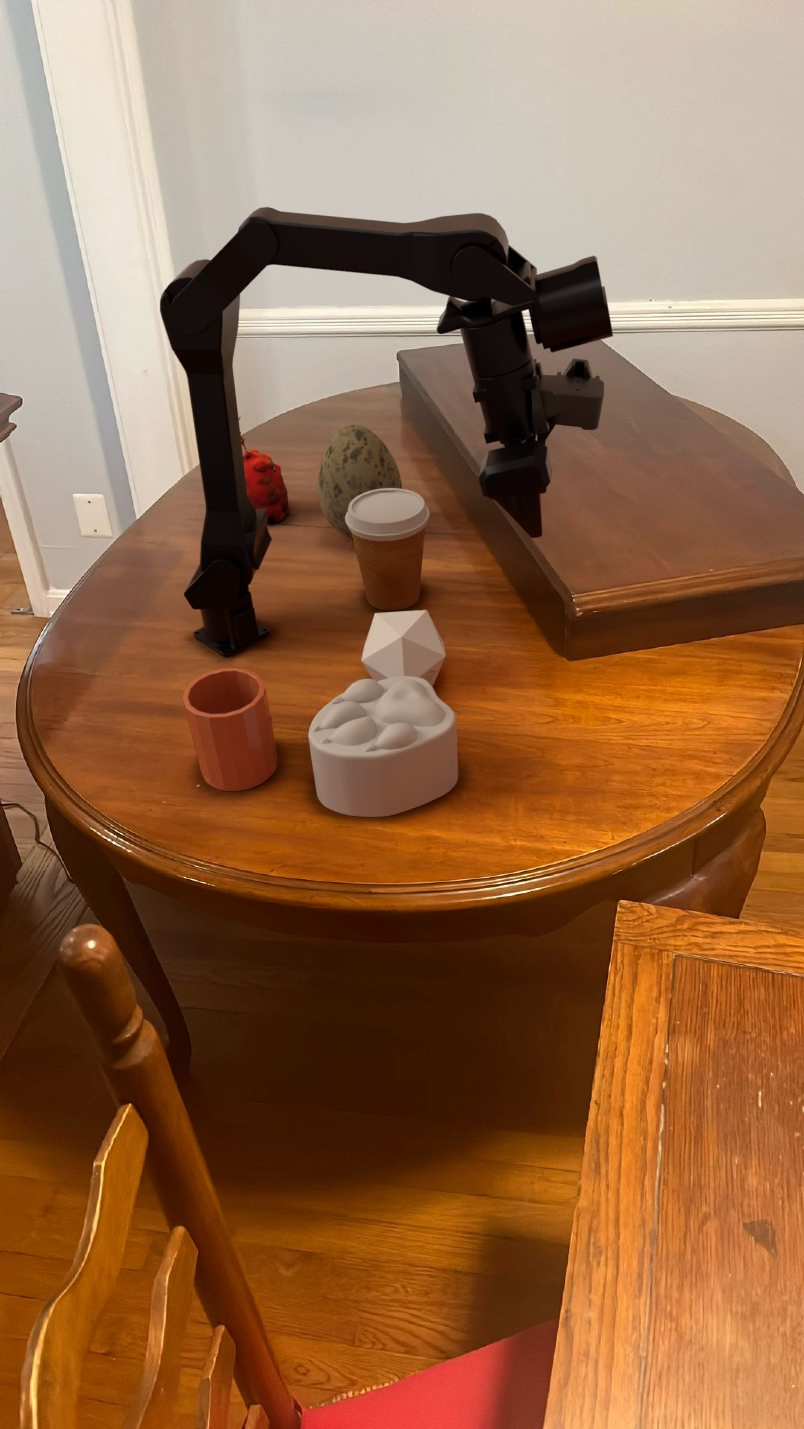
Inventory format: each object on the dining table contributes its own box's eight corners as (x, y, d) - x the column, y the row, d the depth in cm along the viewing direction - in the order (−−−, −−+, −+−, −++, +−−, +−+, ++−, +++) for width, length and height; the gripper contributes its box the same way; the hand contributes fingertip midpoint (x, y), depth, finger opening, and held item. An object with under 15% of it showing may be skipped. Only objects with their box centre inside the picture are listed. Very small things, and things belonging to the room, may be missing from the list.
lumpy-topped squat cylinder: (470, 786, 92) (468, 713, 86) (340, 835, 88) (330, 762, 83) (420, 725, 99) (416, 654, 94) (299, 767, 96) (287, 695, 90)
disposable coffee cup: (447, 587, 120) (444, 496, 112) (405, 626, 114) (399, 532, 106) (381, 569, 124) (374, 480, 116) (337, 606, 118) (327, 514, 110)
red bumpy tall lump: (297, 520, 135) (282, 414, 126) (247, 532, 134) (229, 425, 124) (280, 498, 141) (265, 394, 132) (233, 509, 139) (214, 405, 130)
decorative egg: (307, 543, 130) (292, 434, 121) (355, 509, 137) (345, 403, 128) (373, 563, 125) (363, 450, 116) (420, 527, 132) (414, 417, 123)
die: (418, 725, 101) (467, 640, 98) (340, 684, 99) (386, 597, 97) (418, 700, 109) (462, 621, 106) (345, 663, 107) (388, 581, 105)
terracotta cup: (186, 767, 97) (167, 693, 91) (247, 731, 100) (232, 658, 95) (231, 802, 92) (214, 728, 87) (293, 763, 96) (280, 689, 90)
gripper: (588, 382, 82) (621, 545, 91) (590, 309, 96) (618, 456, 105) (458, 413, 85) (502, 567, 94) (479, 338, 99) (515, 479, 108)
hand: (539, 514), depth 100 cm, fingers open, 9 cm apart
